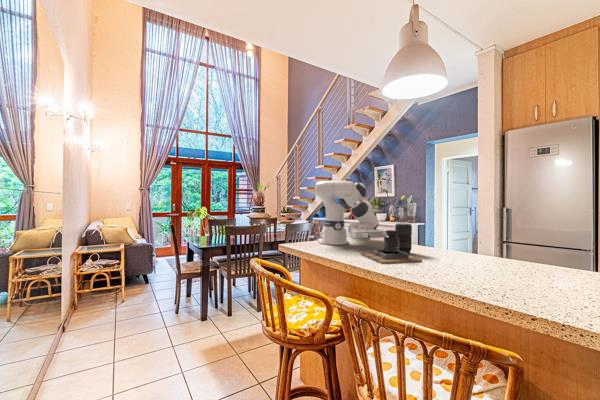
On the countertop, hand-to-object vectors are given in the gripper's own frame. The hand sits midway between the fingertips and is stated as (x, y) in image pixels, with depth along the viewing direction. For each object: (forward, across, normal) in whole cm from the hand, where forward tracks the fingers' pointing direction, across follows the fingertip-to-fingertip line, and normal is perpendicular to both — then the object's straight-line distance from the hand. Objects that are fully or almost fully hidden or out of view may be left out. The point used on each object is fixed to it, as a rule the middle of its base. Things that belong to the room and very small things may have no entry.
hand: (377, 235), depth 144 cm
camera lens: (+2, -14, -9) cm, 17 cm away
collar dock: (+12, 0, -9) cm, 15 cm away
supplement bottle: (+12, -1, -8) cm, 14 cm away
